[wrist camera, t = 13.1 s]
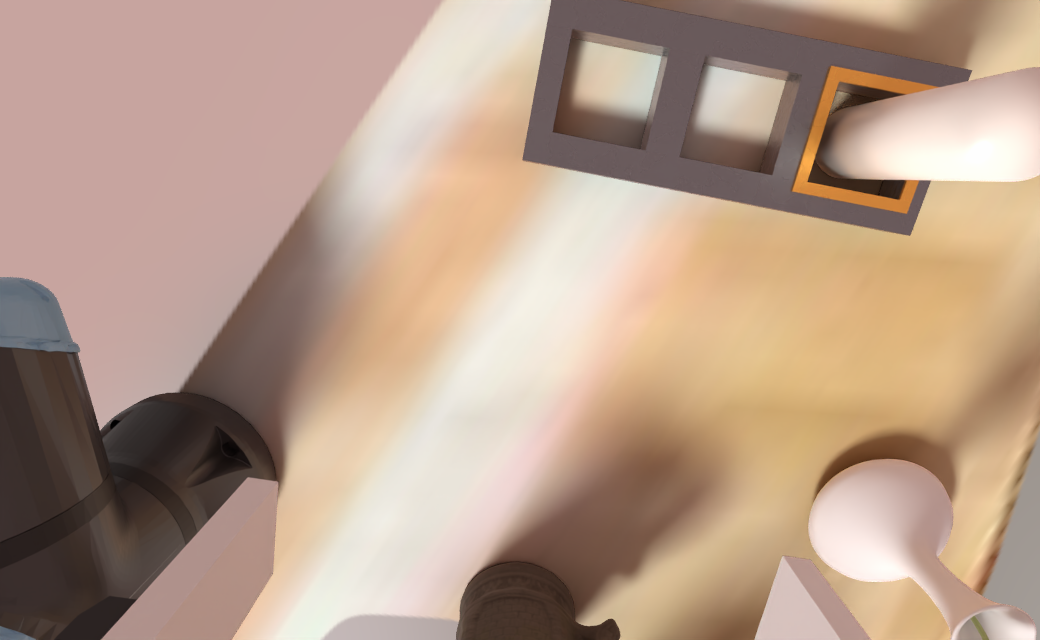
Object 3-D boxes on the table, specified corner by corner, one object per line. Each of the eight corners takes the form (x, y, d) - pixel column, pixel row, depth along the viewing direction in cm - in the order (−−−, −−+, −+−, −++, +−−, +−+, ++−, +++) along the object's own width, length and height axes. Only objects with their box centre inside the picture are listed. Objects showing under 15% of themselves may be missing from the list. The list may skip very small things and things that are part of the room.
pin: (804, 171, 41) (950, 170, 26) (826, 100, 39) (993, 57, 25) (870, 184, 41) (1053, 190, 26) (894, 114, 39) (1101, 79, 25)
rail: (523, 160, 41) (522, 159, 38) (553, -2, 38) (553, -14, 36) (888, 232, 41) (912, 236, 39) (945, 76, 39) (974, 69, 36)
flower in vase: (891, 423, 45) (1290, 707, 21) (961, 518, 47) (1398, 876, 23) (757, 509, 48) (976, 852, 24) (828, 596, 50) (1098, 993, 26)
